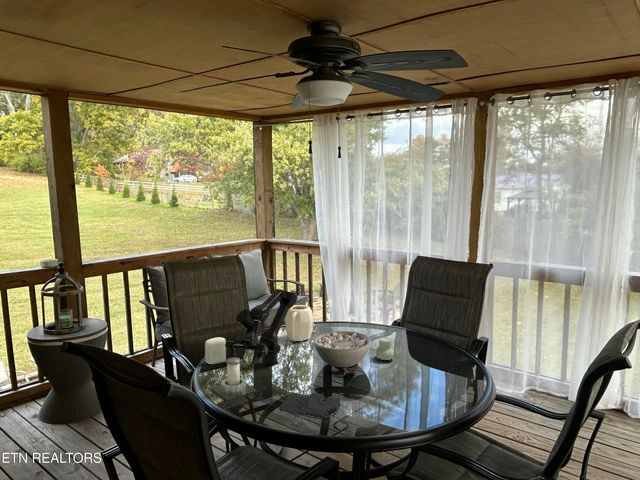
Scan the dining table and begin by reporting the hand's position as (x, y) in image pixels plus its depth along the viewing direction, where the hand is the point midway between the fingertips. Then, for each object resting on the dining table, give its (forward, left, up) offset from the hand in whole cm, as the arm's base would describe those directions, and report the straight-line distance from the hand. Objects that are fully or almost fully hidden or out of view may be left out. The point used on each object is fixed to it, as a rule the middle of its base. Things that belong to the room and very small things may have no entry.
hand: (241, 365), depth 191 cm
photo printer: (-3, -30, -8) cm, 31 cm away
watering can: (-58, -34, -8) cm, 68 cm away
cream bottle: (+6, +4, -7) cm, 10 cm away
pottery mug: (-44, +19, -8) cm, 49 cm away
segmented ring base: (+6, +4, -8) cm, 11 cm away
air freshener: (-71, +19, -8) cm, 74 cm away
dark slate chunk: (-10, +36, -9) cm, 38 cm away
